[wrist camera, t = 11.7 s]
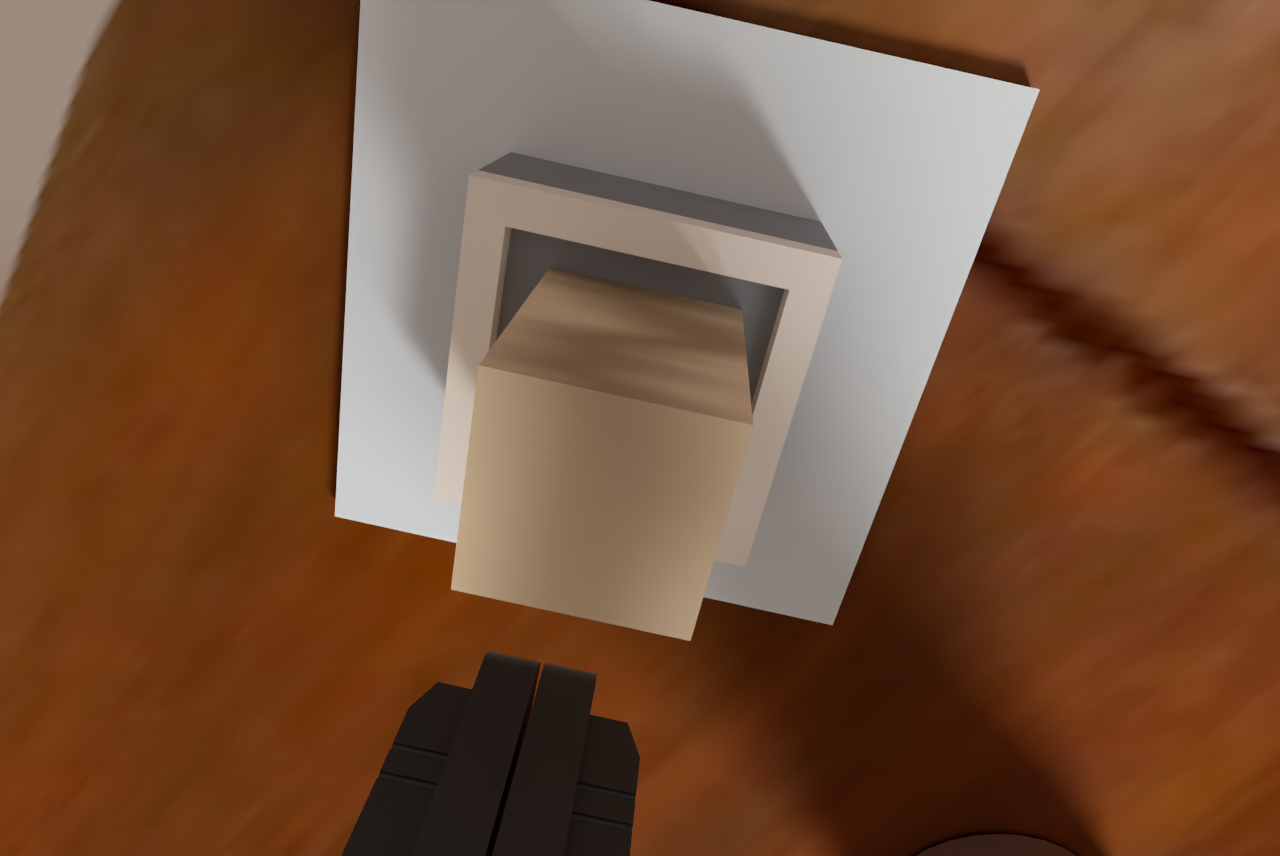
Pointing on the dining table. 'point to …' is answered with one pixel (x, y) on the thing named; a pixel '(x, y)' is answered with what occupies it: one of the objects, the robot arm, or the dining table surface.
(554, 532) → the maple block
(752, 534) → the square block holder
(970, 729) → the dining table surface
